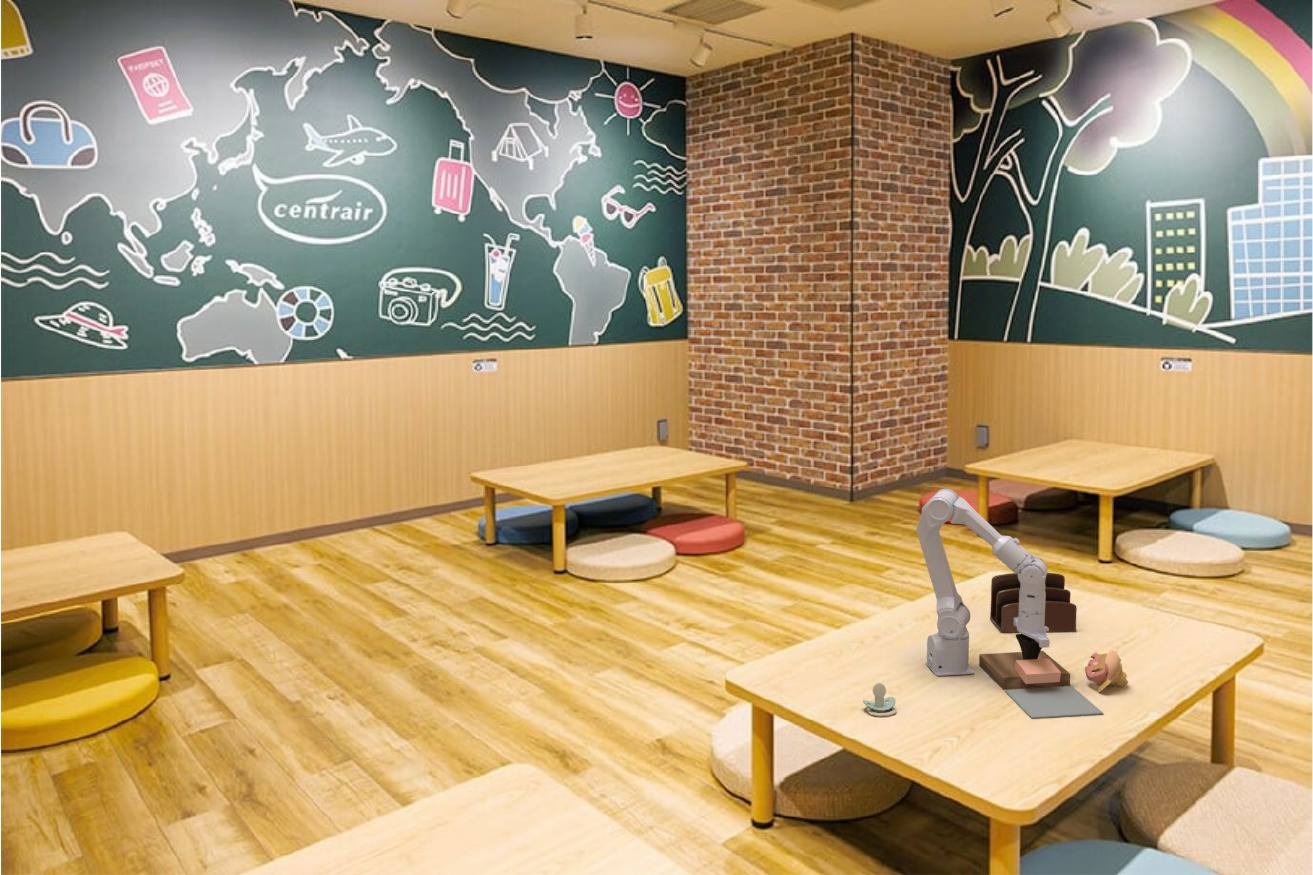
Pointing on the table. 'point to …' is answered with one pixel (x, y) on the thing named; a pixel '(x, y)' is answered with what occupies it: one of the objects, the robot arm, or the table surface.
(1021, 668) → the tile
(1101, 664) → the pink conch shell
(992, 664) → the step
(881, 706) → the pacifier
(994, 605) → the letter holder
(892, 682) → the table surface
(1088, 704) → the mat
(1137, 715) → the table surface
